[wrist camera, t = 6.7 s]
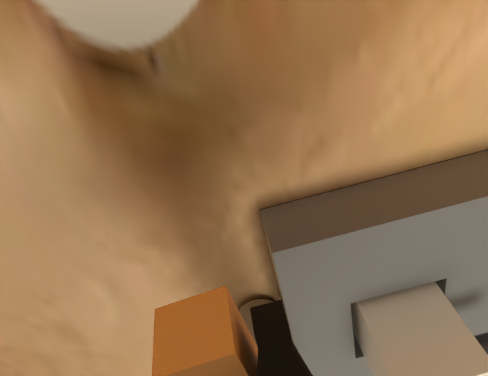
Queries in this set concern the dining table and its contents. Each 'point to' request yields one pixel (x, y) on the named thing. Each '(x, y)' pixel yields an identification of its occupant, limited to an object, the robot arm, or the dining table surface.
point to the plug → (417, 335)
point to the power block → (379, 253)
